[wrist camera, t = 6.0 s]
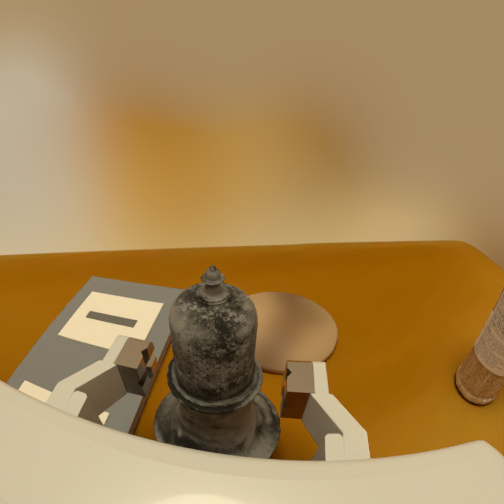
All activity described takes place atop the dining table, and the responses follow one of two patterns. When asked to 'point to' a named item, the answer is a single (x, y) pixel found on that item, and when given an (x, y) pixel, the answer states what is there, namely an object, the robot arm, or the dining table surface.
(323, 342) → the coaster
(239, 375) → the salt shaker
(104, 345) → the label board
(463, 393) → the sprinkles bottle
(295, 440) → the dining table surface
